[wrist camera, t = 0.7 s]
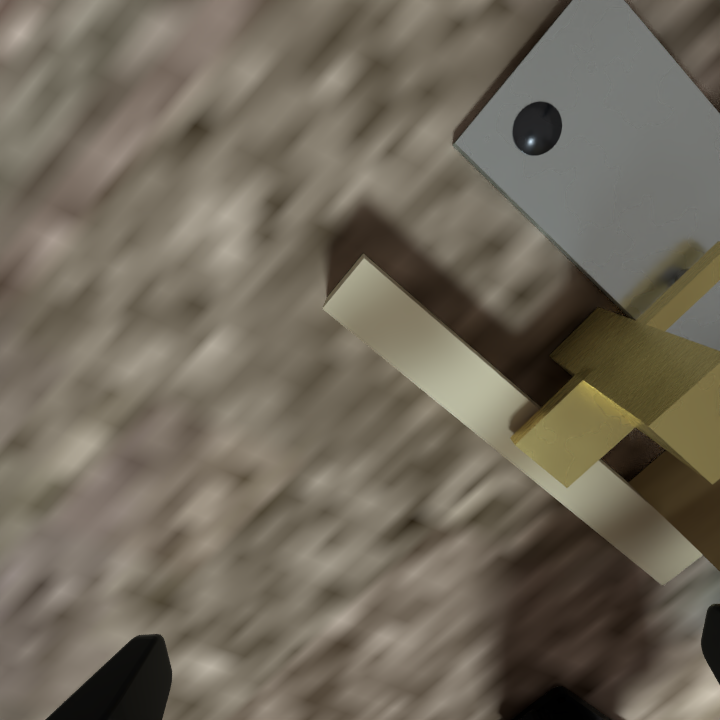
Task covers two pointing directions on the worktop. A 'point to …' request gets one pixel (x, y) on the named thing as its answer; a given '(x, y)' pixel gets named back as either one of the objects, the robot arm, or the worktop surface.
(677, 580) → the worktop surface
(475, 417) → the trammel beam
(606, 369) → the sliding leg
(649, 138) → the bolt plate
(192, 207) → the worktop surface
